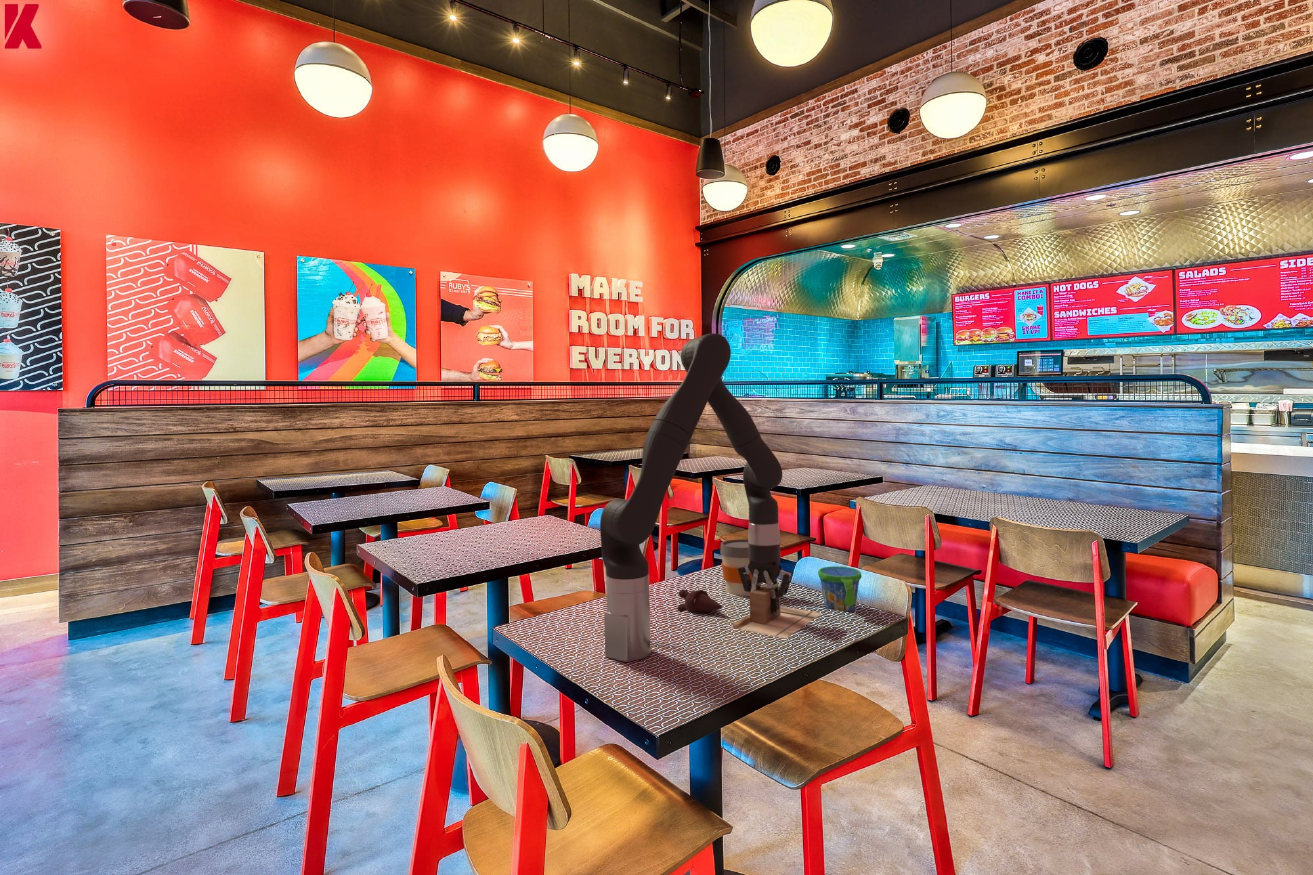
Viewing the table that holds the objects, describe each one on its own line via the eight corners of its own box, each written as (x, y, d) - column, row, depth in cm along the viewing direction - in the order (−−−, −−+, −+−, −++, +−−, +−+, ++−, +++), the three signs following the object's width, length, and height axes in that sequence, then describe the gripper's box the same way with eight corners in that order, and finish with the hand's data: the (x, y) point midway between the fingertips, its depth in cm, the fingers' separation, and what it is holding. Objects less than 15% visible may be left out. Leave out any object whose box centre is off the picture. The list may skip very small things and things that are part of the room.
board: (785, 645, 139) (785, 634, 139) (730, 633, 147) (729, 623, 147) (822, 619, 156) (822, 610, 156) (770, 610, 164) (770, 601, 164)
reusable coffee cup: (722, 603, 171) (721, 548, 171) (719, 590, 184) (718, 539, 183) (769, 602, 171) (768, 547, 170) (763, 589, 184) (762, 538, 183)
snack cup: (869, 619, 155) (868, 578, 155) (825, 619, 156) (825, 578, 155) (853, 601, 170) (852, 563, 170) (813, 601, 171) (813, 564, 171)
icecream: (732, 593, 158) (689, 587, 169) (713, 591, 154) (670, 585, 164) (730, 621, 157) (687, 614, 168) (710, 620, 152) (667, 613, 163)
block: (765, 624, 148) (764, 594, 148) (750, 621, 151) (749, 592, 151) (782, 614, 156) (781, 585, 155) (767, 611, 158) (767, 583, 158)
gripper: (730, 540, 154) (732, 610, 154) (784, 546, 145) (786, 620, 146) (745, 535, 160) (747, 602, 160) (798, 541, 151) (799, 612, 152)
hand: (765, 610), depth 153 cm, fingers closed on block, 4 cm apart
